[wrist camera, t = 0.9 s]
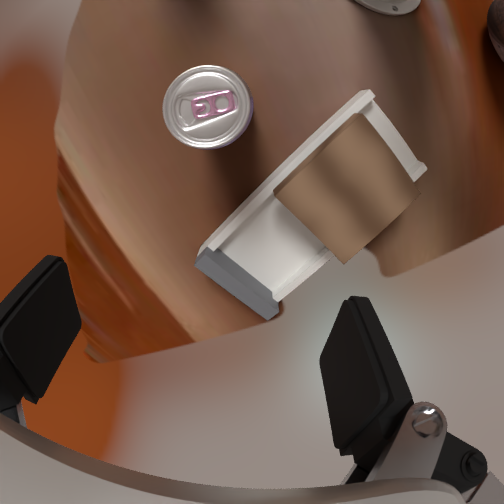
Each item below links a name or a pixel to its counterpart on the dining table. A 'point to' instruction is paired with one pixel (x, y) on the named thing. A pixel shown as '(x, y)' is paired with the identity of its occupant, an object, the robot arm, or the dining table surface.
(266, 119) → the dining table surface
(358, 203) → the slab
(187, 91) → the beverage can
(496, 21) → the wooden sphere
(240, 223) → the track
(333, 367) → the robot arm
